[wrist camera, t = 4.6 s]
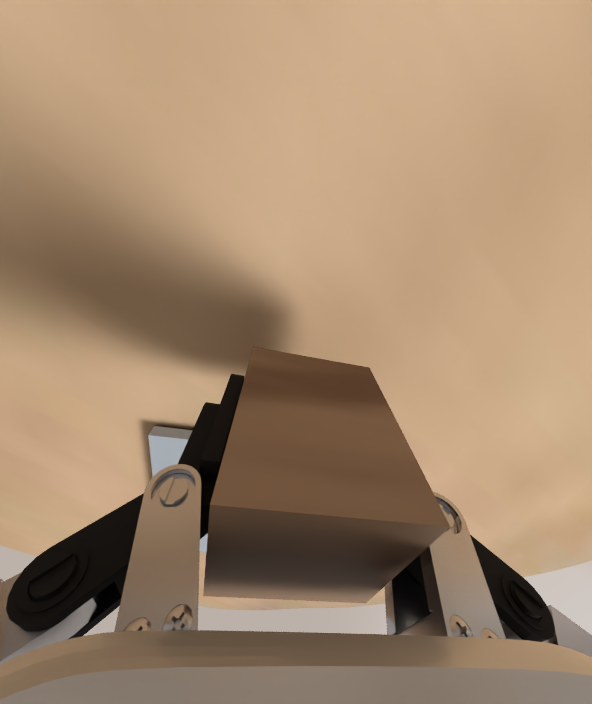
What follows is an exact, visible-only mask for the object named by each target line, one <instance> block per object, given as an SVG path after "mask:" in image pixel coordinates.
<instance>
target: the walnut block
mask: <svg viewBox="0 0 592 704" xmlns="http://www.w3.org/2000/svg"><path fill="white" fill-rule="evenodd" d="M449 528H450V525H449V523H448V521H447V519H446V517H445V515H444V513H443V511H442V509H441V507H440V505H439V503H438V502H437V500H436V498H435V496H434V494H433V492H432V490H431V488H430V486H429V484H428V482H427V480H426V478H425V476H424V474H423V472H422V470H421V468H420V466H419V464H418V462H417V460H416V458H415V456H414V454H413V452H412V451H411V449H410V447H409V445H408V443H407V441H406V439H405V437H404V435H403V433H402V431H401V429H400V427H399V425H398V423H397V421H396V419H395V417H394V415H393V413H392V411H391V409H390V407H389V405H388V403H387V401H386V399H385V398H384V396H383V394H382V392H381V390H380V388H379V386H378V384H377V382H376V380H375V378H374V376H373V374H372V372H371V370H370V368H368V367H362V366H357V365H351V364H346V363H340V362H334V361H329V360H323V359H318V358H312V357H306V356H301V355H295V354H290V353H284V352H279V351H273V350H267V349H262V348H256V347H253V350H252V354H251V357H250V361H249V364H248V368H247V372H246V375H245V379H244V383H243V386H242V390H241V394H240V397H239V401H238V404H237V408H236V412H235V415H234V419H233V423H232V426H231V430H230V434H229V437H228V441H227V444H226V448H225V452H224V455H223V459H222V463H221V466H220V470H219V474H218V477H217V481H216V484H215V488H214V492H213V495H212V499H211V503H210V511H209V525H208V539H207V553H206V567H205V581H204V595H203V596H215V597H238V598H260V599H283V600H306V601H328V602H351V603H366V602H368V601H369V600H370V599H371V598H372V597H373V596H374V595H375V594H376V593H378V592H379V591H380V590H381V589H382V588H383V587H384V586H385V585H386V584H388V583H389V582H390V581H391V580H392V579H393V578H394V577H395V576H396V575H398V574H399V573H400V572H401V571H402V570H403V569H404V568H405V567H406V566H408V565H409V564H410V563H411V562H412V561H413V560H414V559H415V558H416V557H418V556H419V555H420V554H421V553H422V552H423V551H424V550H425V549H426V548H428V547H429V546H430V545H431V544H432V543H433V542H434V541H435V540H436V539H437V538H439V537H440V536H441V535H442V534H443V533H444V532H445V531H446V530H447V529H449Z"/></svg>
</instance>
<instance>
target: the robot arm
mask: <svg viewBox="0 0 592 704" xmlns="http://www.w3.org/2000/svg"><path fill="white" fill-rule="evenodd" d="M244 377H245V376H241V375H235V374H231V376H230V379H229V382H228V384H227V387H226V390H225V392H224V395H223V398H222V401H221V403H220V404H214V403H207V402H206V403H205V404H204V406H203V408H202V411H201V413H200V415H199V417H198V420H197V422H196V424H195V426H194V428H193V431H192V433H191V435H190V437H189V440H188V442H187V444H186V446H185V449H184V451H183V453H182V455H181V457H180V460H179V462H178V464H176V465H172V466H168V467H166V468H164V469H162V470H160V471H159V472H158V473H157V474H155V475H154V476H153V477H152V478H151V480H150V481H149V482H148V484H147V486H146V489H145V491H144V494H142V495H140V496H138V497H137V498H135V499H133V500H132V501H130V502H128V503H126V504H125V505H123V506H121V507H119V508H118V509H116V510H114V511H113V512H111V513H109V514H107V515H106V516H104V517H102V518H100V519H99V520H97V521H95V522H94V523H92V524H90V525H88V526H87V527H85V528H83V529H81V530H80V531H78V532H76V533H75V534H73V535H71V536H69V537H68V538H66V539H64V540H62V541H61V542H59V543H57V544H56V545H54V546H52V547H50V548H49V549H47V550H46V551H45V552H43V553H42V554H40V555H39V556H37V557H36V558H35V559H34V560H33V561H32V562H31V563H30V564H29V565H28V566H27V567H26V568H25V569H24V570H23V572H21V573H20V574H18V575H16V576H14V577H12V578H10V579H8V580H6V581H3V580H2V579H0V704H592V635H590V634H589V633H588V632H586V631H585V630H583V629H582V628H581V627H580V626H578V625H577V624H575V623H574V622H572V621H571V620H570V619H569V618H567V617H566V616H565V615H563V614H562V613H561V612H559V611H558V610H557V609H555V608H554V607H552V606H551V605H549V606H546V604H545V602H544V601H543V599H542V598H541V596H540V595H539V594H538V593H537V592H536V590H535V589H534V588H533V587H532V586H531V585H530V584H529V583H528V582H527V581H526V580H525V579H524V578H523V577H522V576H520V575H519V574H518V573H517V572H515V571H514V570H513V569H512V568H510V567H509V566H508V565H507V564H506V563H504V562H503V561H502V560H501V559H499V558H498V557H497V556H496V555H494V554H493V553H492V552H491V551H490V550H488V549H487V548H486V547H485V546H483V545H482V544H481V543H480V542H478V541H477V540H476V539H475V538H474V537H472V536H471V535H470V533H469V530H468V528H467V525H466V522H465V520H464V518H463V516H462V514H461V513H460V511H459V510H458V508H457V507H456V506H455V505H454V504H453V503H452V502H451V501H449V500H448V499H447V498H445V497H444V496H442V495H440V494H438V493H435V492H433V494H434V496H435V498H436V500H437V502H438V503H439V505H440V507H441V509H442V511H443V513H444V515H445V517H446V519H447V521H448V523H449V525H450V528H449V529H447V530H446V531H445V532H444V533H443V534H442V535H441V536H440V537H439V538H437V539H436V540H435V541H434V542H433V543H432V544H431V545H430V546H429V547H428V548H426V549H425V550H424V551H423V552H422V553H421V554H420V555H419V556H418V557H416V558H415V559H414V560H413V561H412V562H411V563H410V564H409V565H408V566H406V567H405V568H404V569H403V570H402V571H401V572H400V573H399V574H398V575H396V576H395V577H394V578H393V579H392V580H391V581H390V582H389V583H388V584H386V585H385V601H386V618H387V635H379V634H341V633H301V632H254V631H198V595H199V555H200V539H201V538H202V537H204V536H205V535H206V534H207V533H208V525H209V511H210V503H211V499H212V495H213V492H214V488H215V484H216V481H217V477H218V474H219V470H220V466H221V463H222V459H223V455H224V452H225V448H226V444H227V441H228V437H229V434H230V430H231V426H232V423H233V419H234V415H235V412H236V408H237V404H238V401H239V397H240V394H241V390H242V386H243V383H244ZM118 606H120V607H119V612H118V617H117V621H116V626H115V631H114V632H111V633H100V634H94V635H88V636H83V635H84V634H85V633H87V632H88V631H89V630H90V629H92V628H93V627H94V626H95V625H96V624H98V623H99V622H100V621H101V620H102V619H104V618H105V617H106V616H107V615H109V614H110V613H111V612H112V611H114V610H115V609H116V608H117V607H118Z"/></svg>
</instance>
